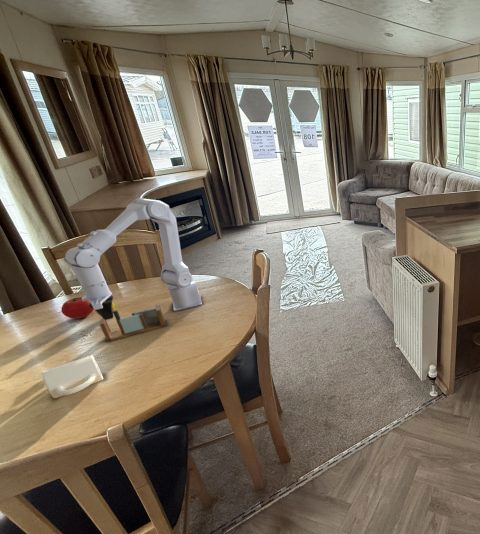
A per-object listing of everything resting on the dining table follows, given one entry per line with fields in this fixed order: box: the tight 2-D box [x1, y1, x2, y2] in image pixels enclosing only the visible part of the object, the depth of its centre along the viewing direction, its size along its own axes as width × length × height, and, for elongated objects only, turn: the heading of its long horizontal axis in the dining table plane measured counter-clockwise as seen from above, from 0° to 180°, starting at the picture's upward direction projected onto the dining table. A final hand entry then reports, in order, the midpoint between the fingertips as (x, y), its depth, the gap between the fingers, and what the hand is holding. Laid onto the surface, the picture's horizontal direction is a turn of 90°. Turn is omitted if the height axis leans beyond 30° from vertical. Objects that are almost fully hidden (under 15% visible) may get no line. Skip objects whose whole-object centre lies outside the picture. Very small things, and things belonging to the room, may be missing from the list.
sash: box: [113, 309, 147, 334], centre depth 119 cm, size 7×1×9 cm, turn 128°
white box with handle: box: [41, 354, 104, 399], centre depth 94 cm, size 12×10×8 cm
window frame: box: [99, 305, 166, 342], centre depth 121 cm, size 16×4×7 cm, turn 128°
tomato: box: [60, 296, 95, 319], centre depth 128 cm, size 9×9×8 cm
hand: (109, 318), depth 115 cm, fingers closed, pressing on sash
